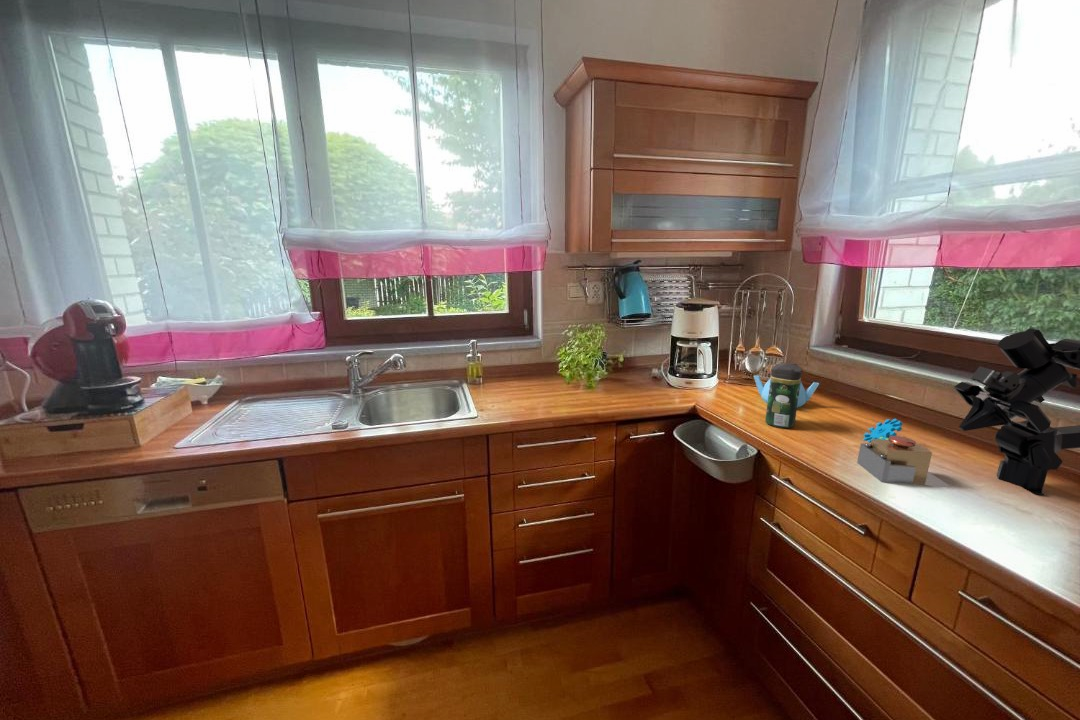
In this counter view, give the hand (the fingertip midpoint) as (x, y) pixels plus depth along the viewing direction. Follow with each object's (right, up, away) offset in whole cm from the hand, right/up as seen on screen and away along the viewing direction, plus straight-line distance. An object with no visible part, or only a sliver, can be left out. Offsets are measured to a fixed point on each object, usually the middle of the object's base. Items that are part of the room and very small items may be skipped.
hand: (961, 428), depth 100 cm
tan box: (-12, -11, +4) cm, 16 cm away
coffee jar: (-20, -4, +37) cm, 43 cm away
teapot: (-9, 0, +57) cm, 58 cm away
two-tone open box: (-10, -12, +4) cm, 16 cm away
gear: (-1, -8, +22) cm, 24 cm away
